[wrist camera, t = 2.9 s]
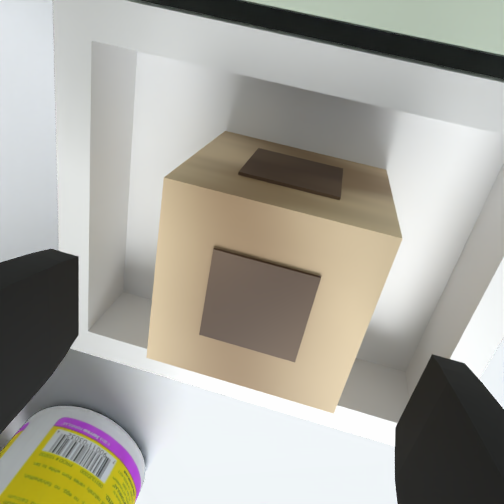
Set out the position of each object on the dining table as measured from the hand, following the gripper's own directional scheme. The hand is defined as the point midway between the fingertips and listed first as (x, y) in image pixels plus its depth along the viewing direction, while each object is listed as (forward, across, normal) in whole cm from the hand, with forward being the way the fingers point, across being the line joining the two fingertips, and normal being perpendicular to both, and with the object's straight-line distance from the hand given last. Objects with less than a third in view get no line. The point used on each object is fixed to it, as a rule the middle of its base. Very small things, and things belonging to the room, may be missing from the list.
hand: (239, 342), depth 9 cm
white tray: (+7, 0, 0) cm, 7 cm away
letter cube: (+6, 0, 0) cm, 6 cm away
